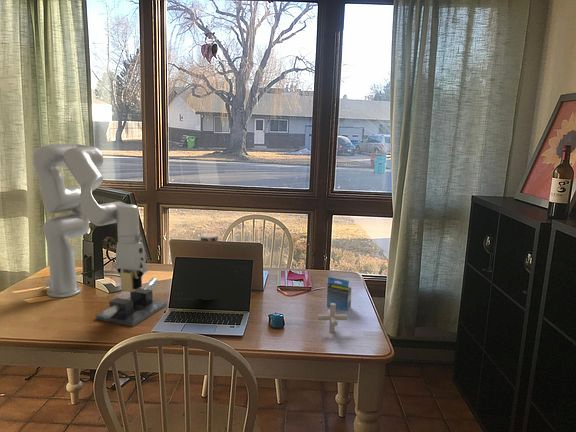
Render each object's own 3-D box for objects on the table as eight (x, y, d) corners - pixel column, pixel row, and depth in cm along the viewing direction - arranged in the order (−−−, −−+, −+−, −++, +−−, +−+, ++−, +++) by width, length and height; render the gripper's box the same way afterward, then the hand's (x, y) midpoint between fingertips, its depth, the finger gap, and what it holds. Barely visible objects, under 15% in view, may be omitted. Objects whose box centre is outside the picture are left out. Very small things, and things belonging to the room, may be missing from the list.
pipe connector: (315, 325, 168) (316, 298, 166) (343, 324, 169) (344, 298, 167) (319, 337, 159) (320, 309, 157) (349, 337, 159) (350, 309, 157)
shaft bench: (87, 323, 165) (85, 299, 164) (139, 295, 192) (138, 274, 190) (125, 331, 160) (124, 306, 158) (173, 301, 187) (172, 279, 185)
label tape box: (351, 307, 185) (352, 277, 182) (347, 311, 181) (348, 280, 179) (330, 303, 189) (331, 273, 186) (326, 306, 185) (327, 276, 183)
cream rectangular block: (121, 290, 172) (120, 272, 170) (132, 285, 177) (131, 267, 176) (131, 292, 170) (130, 273, 169) (142, 286, 176) (141, 268, 174)
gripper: (155, 238, 171) (157, 286, 174) (116, 234, 176) (119, 281, 180) (142, 243, 164) (144, 293, 167) (102, 239, 169) (106, 287, 173)
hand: (131, 286), depth 174 cm, fingers closed on cream rectangular block, 4 cm apart
